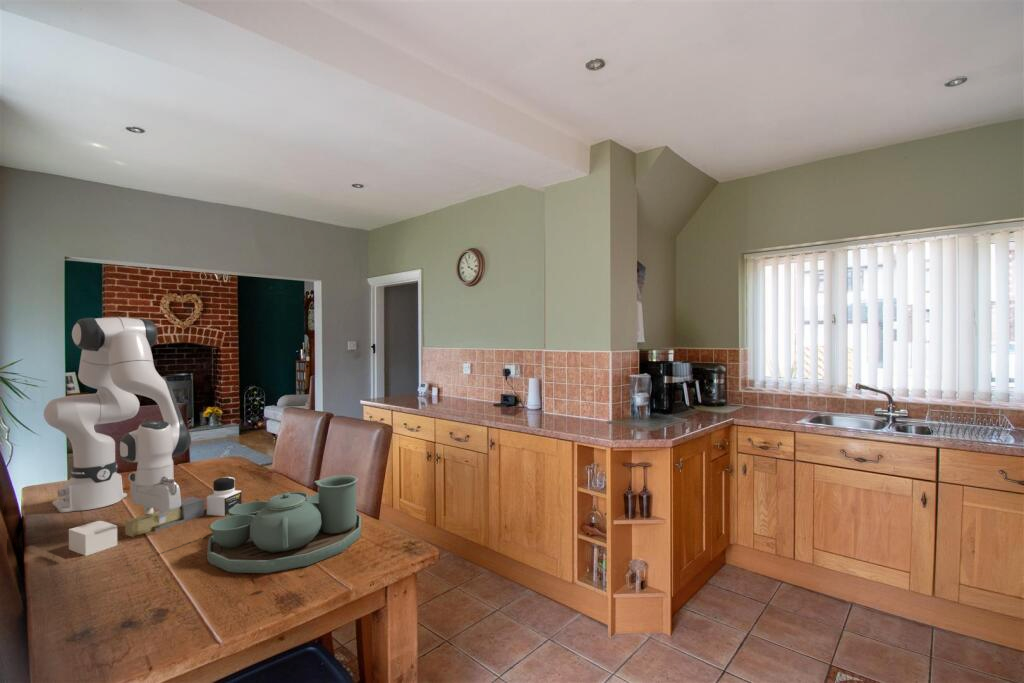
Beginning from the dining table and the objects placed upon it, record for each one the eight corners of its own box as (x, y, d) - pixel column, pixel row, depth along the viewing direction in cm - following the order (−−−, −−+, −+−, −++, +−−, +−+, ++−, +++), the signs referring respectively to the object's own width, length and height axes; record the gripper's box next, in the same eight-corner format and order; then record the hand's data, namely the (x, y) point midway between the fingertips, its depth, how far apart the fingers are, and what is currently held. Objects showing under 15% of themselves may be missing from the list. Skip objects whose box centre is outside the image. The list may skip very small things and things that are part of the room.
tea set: (326, 507, 163) (326, 459, 163) (386, 541, 135) (386, 483, 134) (189, 542, 135) (189, 484, 135) (229, 595, 106) (229, 522, 106)
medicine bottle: (225, 519, 151) (224, 482, 151) (206, 518, 153) (205, 481, 153) (242, 511, 158) (241, 475, 158) (223, 510, 160) (223, 474, 160)
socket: (68, 553, 128) (68, 529, 128) (100, 543, 134) (100, 520, 134) (85, 559, 124) (85, 535, 124) (117, 549, 130) (117, 525, 130)
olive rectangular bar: (125, 534, 137) (125, 520, 137) (183, 515, 152) (183, 503, 152) (132, 536, 135) (132, 522, 135) (191, 517, 150) (191, 504, 150)
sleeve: (141, 530, 143) (141, 510, 143) (190, 515, 155) (190, 496, 155) (156, 535, 139) (156, 514, 139) (205, 518, 152) (205, 499, 152)
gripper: (187, 476, 141) (187, 522, 141) (148, 468, 150) (149, 512, 150) (163, 482, 135) (164, 530, 135) (125, 474, 144) (125, 519, 144)
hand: (156, 521), depth 143 cm, fingers closed on olive rectangular bar, 4 cm apart
